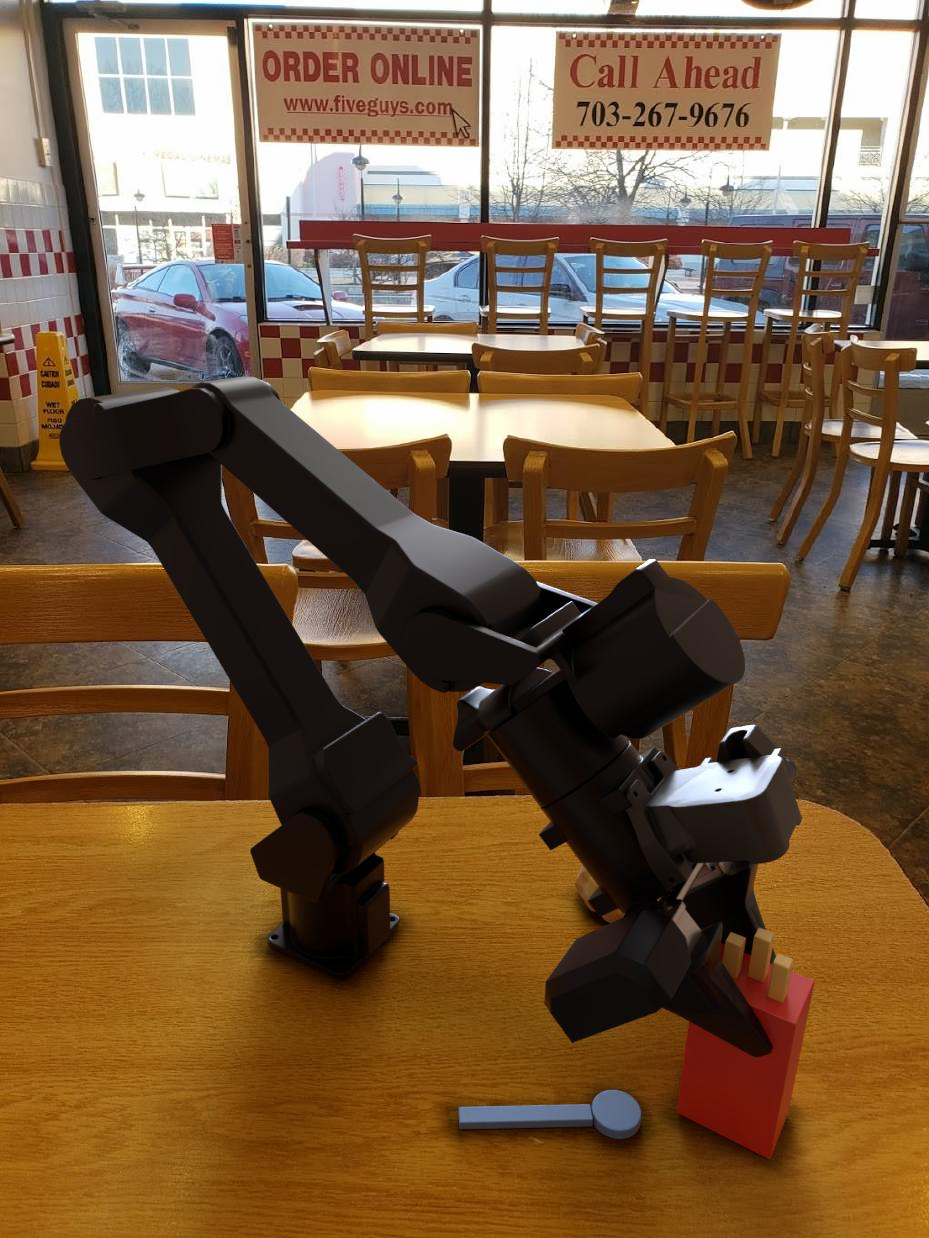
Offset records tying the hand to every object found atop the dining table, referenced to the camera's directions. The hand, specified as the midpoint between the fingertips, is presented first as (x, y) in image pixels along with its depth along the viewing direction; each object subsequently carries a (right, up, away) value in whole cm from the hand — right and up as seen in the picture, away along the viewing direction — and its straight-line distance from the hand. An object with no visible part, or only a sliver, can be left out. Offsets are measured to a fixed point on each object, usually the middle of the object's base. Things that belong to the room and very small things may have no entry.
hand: (774, 1028), depth 47 cm
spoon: (-11, -6, +3) cm, 13 cm away
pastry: (-3, 0, +19) cm, 19 cm away
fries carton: (-1, -6, +3) cm, 7 cm away
